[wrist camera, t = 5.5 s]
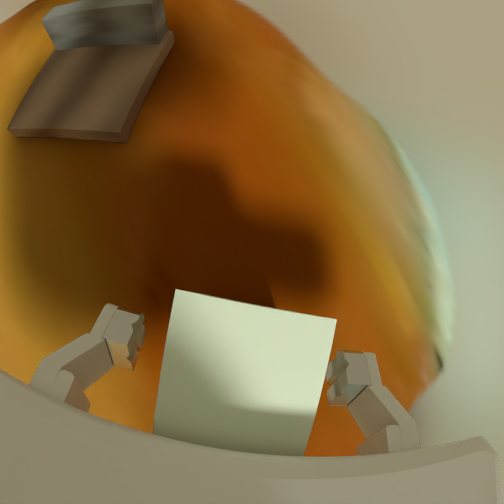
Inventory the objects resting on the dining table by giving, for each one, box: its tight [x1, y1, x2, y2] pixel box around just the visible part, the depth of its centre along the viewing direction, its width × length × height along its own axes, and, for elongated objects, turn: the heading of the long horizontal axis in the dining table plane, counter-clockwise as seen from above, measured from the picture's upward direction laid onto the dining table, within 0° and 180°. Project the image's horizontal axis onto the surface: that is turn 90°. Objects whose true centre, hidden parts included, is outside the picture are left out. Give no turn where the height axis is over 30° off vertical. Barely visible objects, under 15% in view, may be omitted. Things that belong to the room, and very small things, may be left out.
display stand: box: [7, 0, 175, 143], centre depth 16 cm, size 12×11×6 cm
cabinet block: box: [153, 289, 337, 456], centre depth 12 cm, size 4×4×10 cm
